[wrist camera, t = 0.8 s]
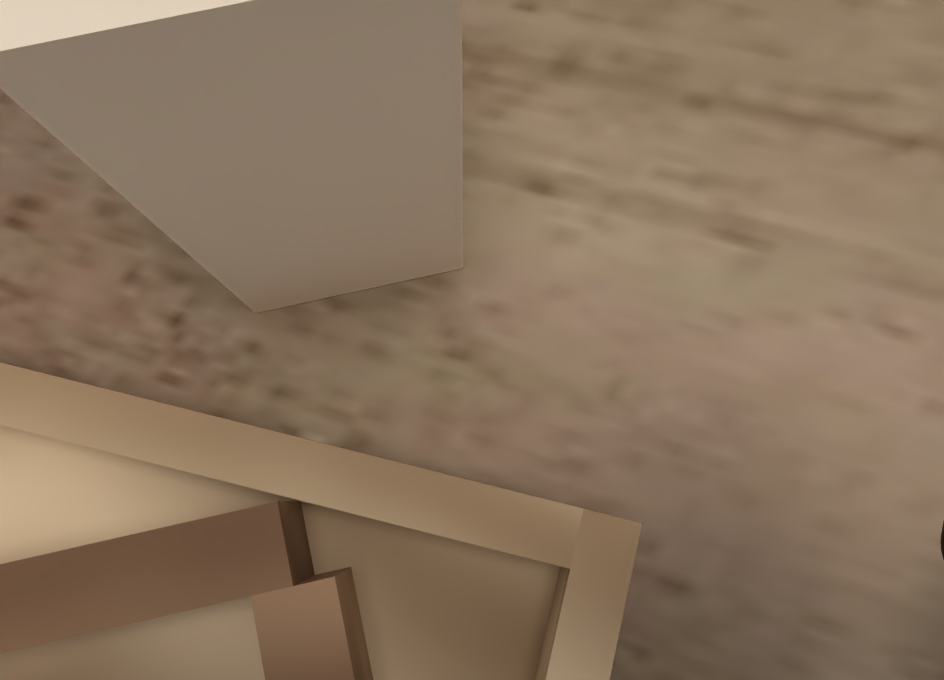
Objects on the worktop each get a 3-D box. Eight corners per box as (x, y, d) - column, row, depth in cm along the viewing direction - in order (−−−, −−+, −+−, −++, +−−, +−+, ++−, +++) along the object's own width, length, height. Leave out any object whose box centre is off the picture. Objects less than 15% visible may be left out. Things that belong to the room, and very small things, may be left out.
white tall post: (463, 267, 21) (460, -123, 8) (255, 313, 21) (-112, -9, 8) (427, 113, 22) (369, -490, 9) (225, 155, 22) (-161, -397, 8)
